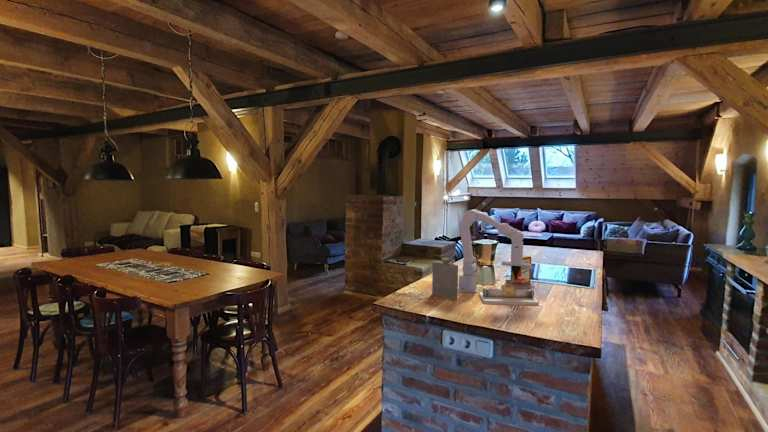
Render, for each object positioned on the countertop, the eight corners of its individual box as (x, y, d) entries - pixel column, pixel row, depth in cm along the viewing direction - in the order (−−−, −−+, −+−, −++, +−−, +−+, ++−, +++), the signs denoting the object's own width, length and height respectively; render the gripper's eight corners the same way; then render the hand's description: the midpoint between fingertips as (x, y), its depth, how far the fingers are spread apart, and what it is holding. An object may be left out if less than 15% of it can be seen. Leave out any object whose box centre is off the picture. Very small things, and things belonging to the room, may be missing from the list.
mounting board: (483, 303, 188) (483, 300, 187) (479, 295, 202) (479, 292, 201) (538, 305, 185) (538, 302, 185) (530, 296, 199) (530, 293, 199)
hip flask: (430, 294, 203) (431, 256, 201) (436, 292, 206) (436, 255, 204) (454, 301, 191) (455, 261, 189) (459, 299, 193) (460, 260, 192)
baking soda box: (519, 285, 221) (520, 257, 220) (510, 282, 227) (511, 255, 226) (530, 282, 226) (531, 255, 225) (521, 280, 232) (522, 254, 231)
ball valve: (484, 299, 191) (484, 284, 191) (482, 295, 197) (482, 281, 197) (534, 300, 189) (534, 285, 189) (530, 297, 195) (531, 282, 194)
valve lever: (508, 284, 191) (508, 280, 191) (504, 282, 193) (504, 279, 193) (525, 280, 197) (525, 277, 197) (521, 279, 199) (521, 276, 199)
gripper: (500, 254, 198) (499, 280, 199) (530, 257, 190) (529, 284, 192) (503, 252, 204) (502, 277, 205) (532, 254, 197) (531, 281, 198)
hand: (515, 280), depth 199 cm, fingers closed, pressing on valve lever
